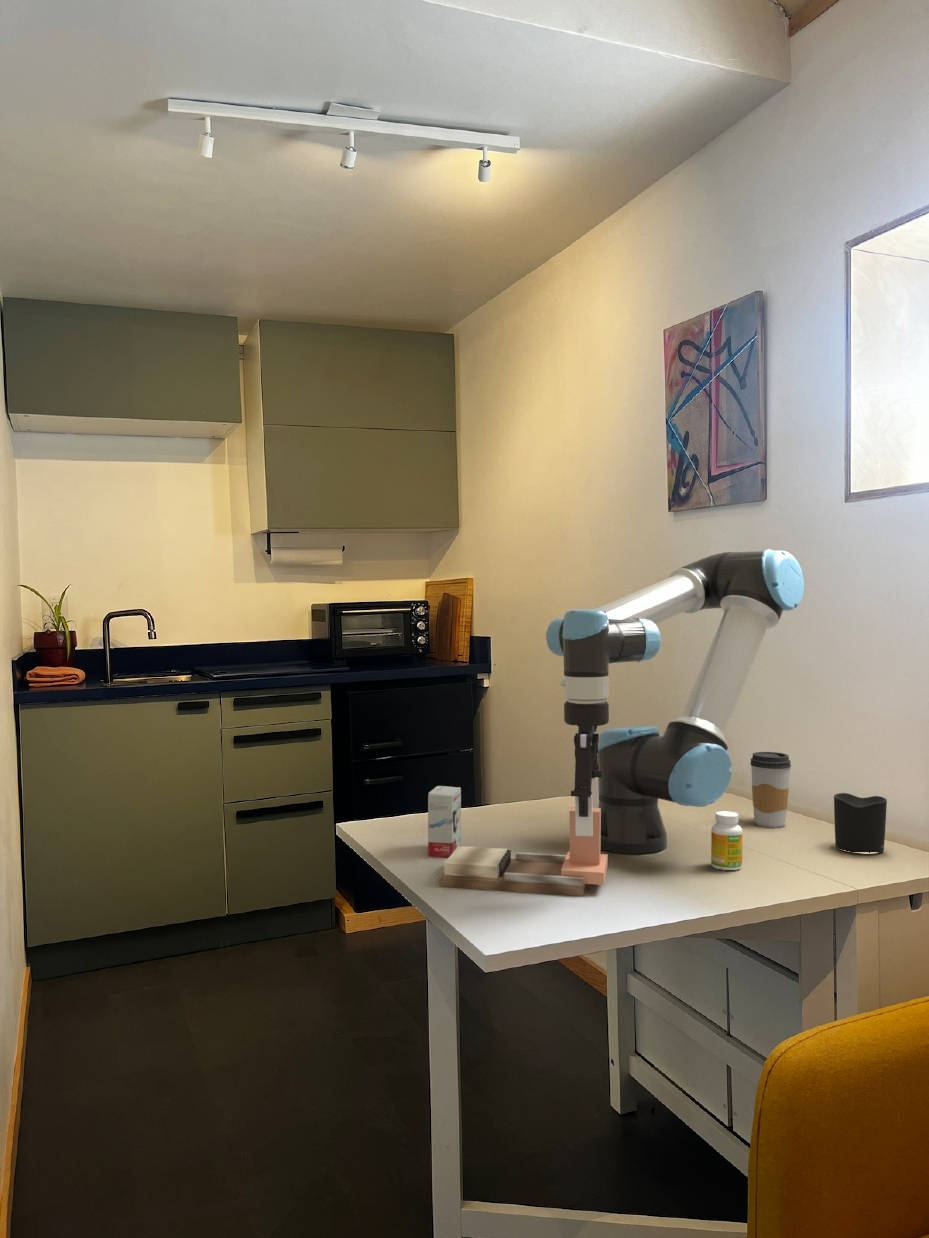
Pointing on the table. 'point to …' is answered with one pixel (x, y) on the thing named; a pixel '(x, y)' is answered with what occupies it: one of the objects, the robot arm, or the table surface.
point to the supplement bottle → (726, 842)
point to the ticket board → (508, 872)
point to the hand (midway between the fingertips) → (587, 824)
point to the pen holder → (859, 823)
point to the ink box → (444, 821)
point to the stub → (586, 853)
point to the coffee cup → (770, 788)
